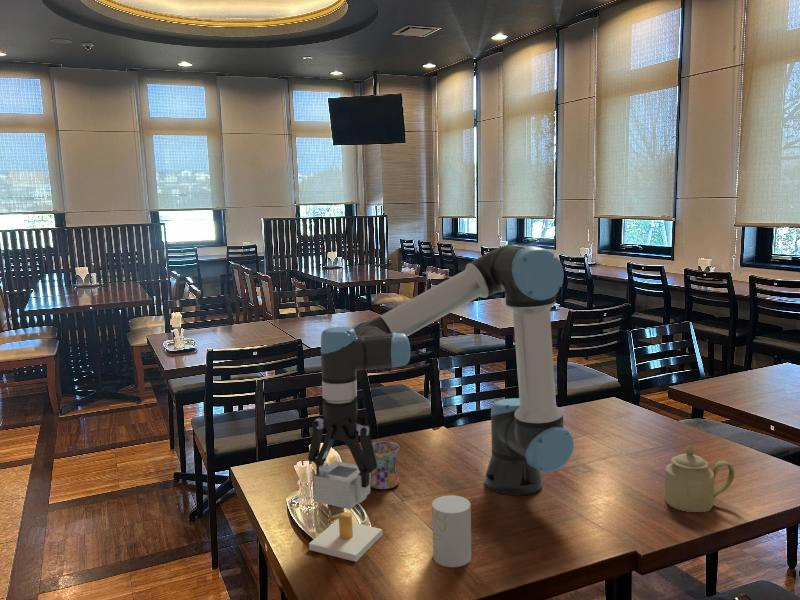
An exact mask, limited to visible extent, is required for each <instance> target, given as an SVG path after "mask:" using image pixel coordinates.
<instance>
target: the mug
mask: <svg viewBox="0 0 800 600" xmlns="http://www.w3.org/2000/svg"><path fill="white" fill-rule="evenodd" d="M372 446H373V450H374V454H375V459H376V463H377V468H376V469H375V470H374V471H372V472H371V473H370V488H373V489H377V490H389V489H393V488H395V487H396V486H398V485H399V484H400V479H399V476H398V474H397V468H396V464H397V457H398V454H399V452H400V449H401V447H400V445H399V444H398V443H396V442H393V441H385V440H383V441H375V442H372Z"/></svg>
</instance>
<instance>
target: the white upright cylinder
mask: <svg viewBox="0 0 800 600" xmlns="http://www.w3.org/2000/svg"><path fill="white" fill-rule="evenodd" d="M471 509H472V508H471V502H470V501H469V500H468V499H467V498H465V497H463V496H460V495H454V494H452V495H451V494H450V495H448V494H447V495H443V496H439V497H437V498H435V499H433V501H432V502H431V511H432V514H431V515H432V517H431V518H432V520H431V521H432V523H431V524H432V552H433V553H432V555H433V556H432V557H433V560H434V562H435V563H436V564H439V565H440V566H442V567H448V568H460V567H462V566H466V565H467V564H468V563H470V561H471V559H472V526H471V525H472V523H471V522H472V521H471V519H472V517H471V516H472V515H471V513H472V512H471Z"/></svg>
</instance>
